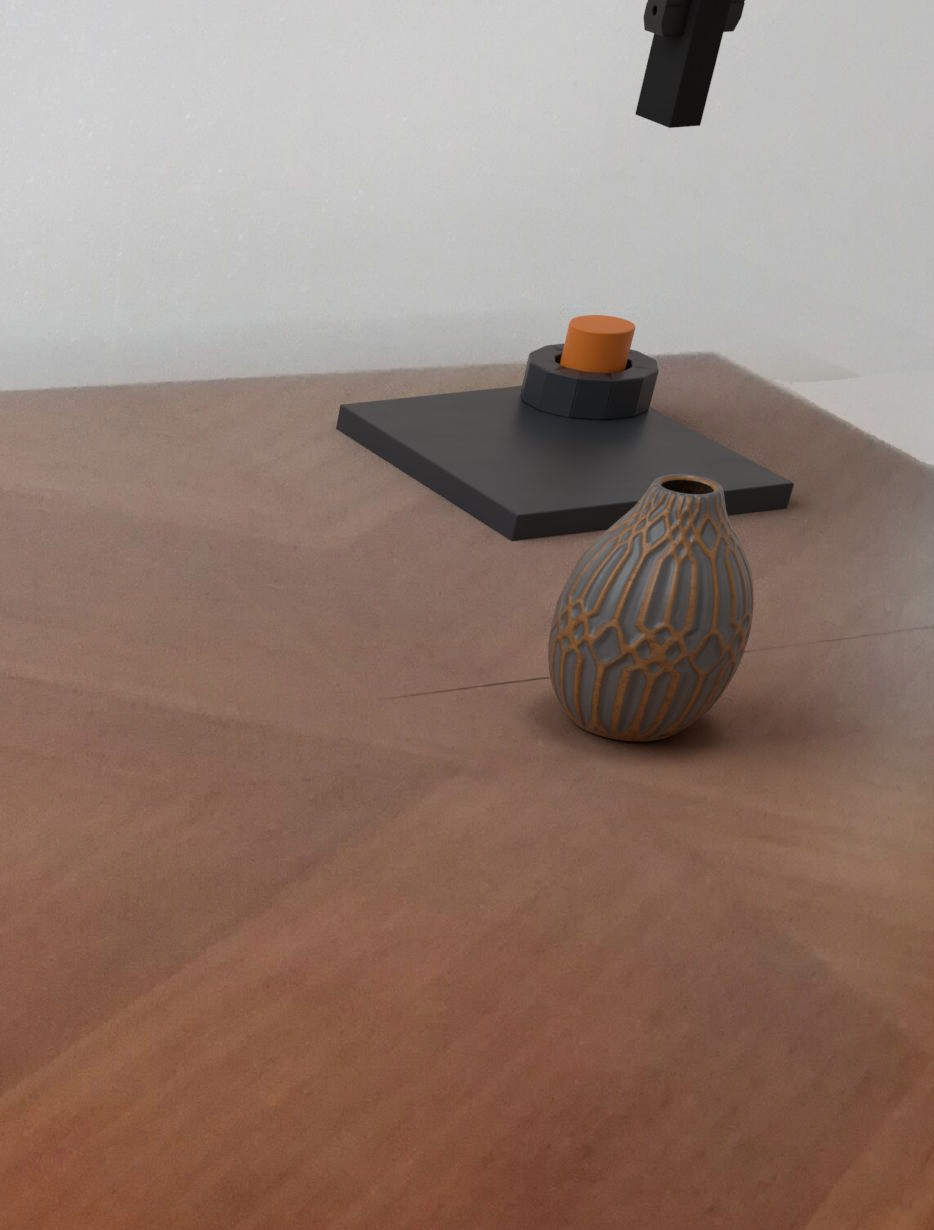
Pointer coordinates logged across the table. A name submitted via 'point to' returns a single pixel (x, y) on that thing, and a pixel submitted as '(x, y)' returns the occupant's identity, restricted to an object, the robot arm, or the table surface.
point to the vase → (653, 615)
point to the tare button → (597, 344)
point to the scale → (554, 448)
